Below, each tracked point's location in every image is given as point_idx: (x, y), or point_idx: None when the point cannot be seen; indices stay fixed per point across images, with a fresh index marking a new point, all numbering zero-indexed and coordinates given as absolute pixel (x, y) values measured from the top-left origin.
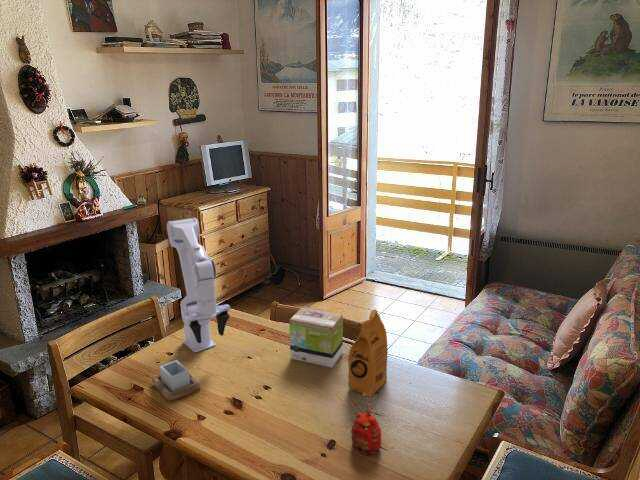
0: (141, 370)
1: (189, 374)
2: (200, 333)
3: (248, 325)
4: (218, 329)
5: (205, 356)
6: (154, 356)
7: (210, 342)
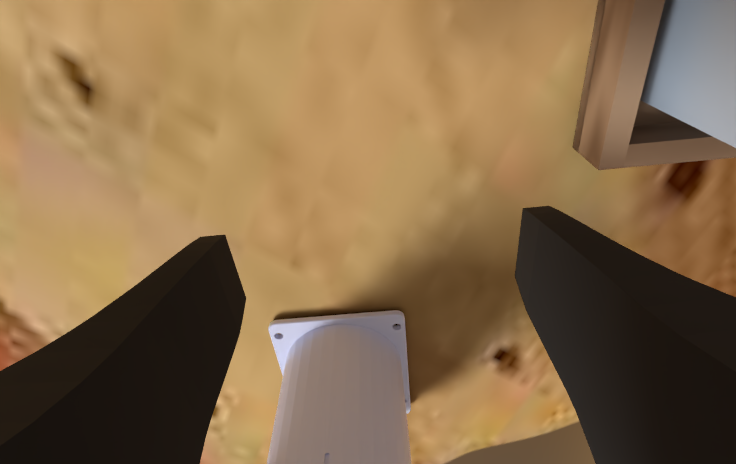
0: None
1: (639, 11)
2: (621, 284)
3: None
4: (229, 337)
5: (364, 252)
6: None
7: (293, 348)
